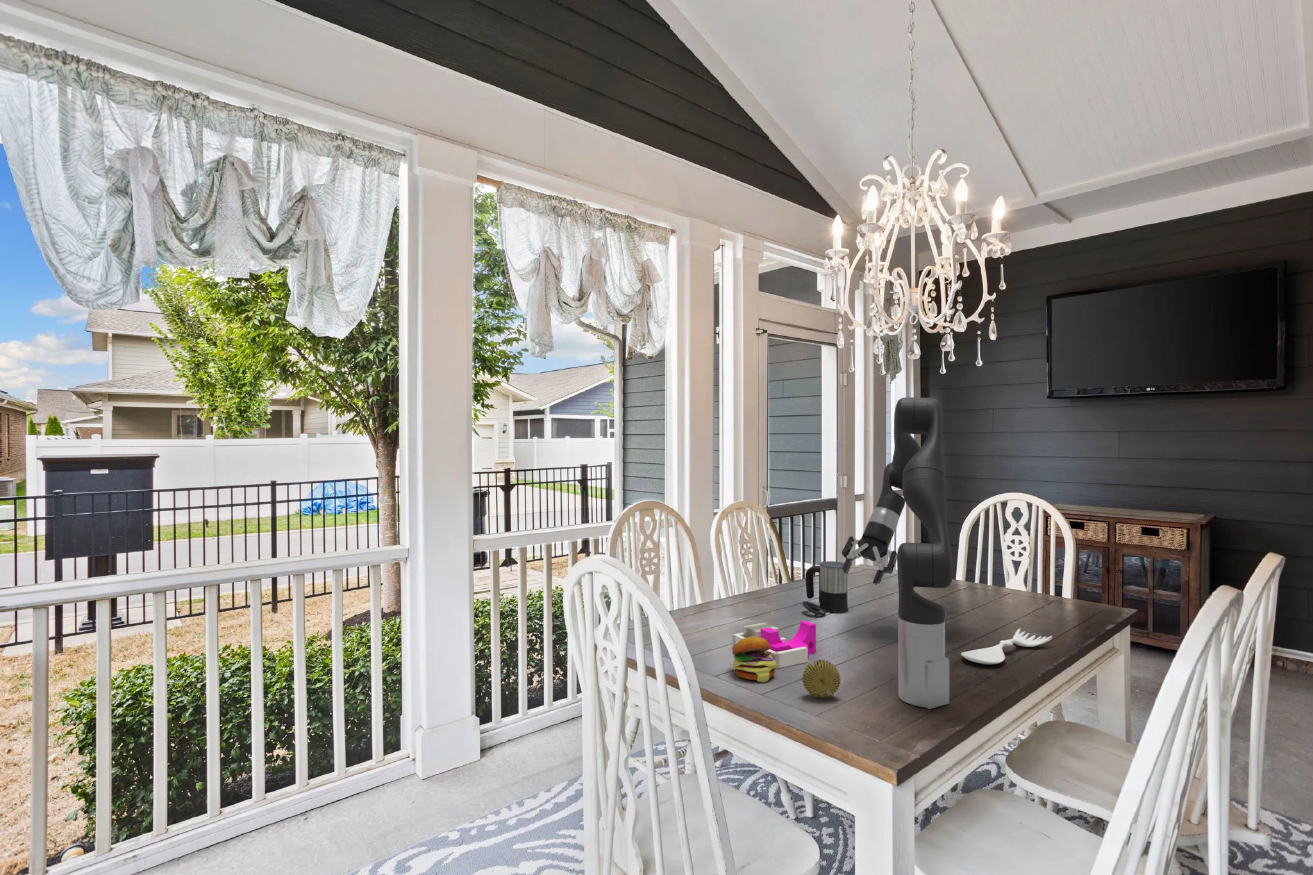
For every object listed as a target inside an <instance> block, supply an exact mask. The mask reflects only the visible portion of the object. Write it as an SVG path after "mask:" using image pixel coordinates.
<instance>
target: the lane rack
mask: <svg viewBox="0 0 1313 875" xmlns="http://www.w3.org/2000/svg"><path fill="white" fill-rule="evenodd" d="M743 638H745V637H744V632H738V633H733V634H732V647H733V646H734V645H735V644H736V643H738V642H739V641H740V640H741V639H743ZM780 639H781V641H782V642H787V638H786V637H780ZM766 652H771V654H770V655H769V656H771V657H772V658H773V659H774V660H775V662H776V664H777V666H776V669H775V670H777V669H781V668H786V667H790V666H791V667H792V666H795V665H800V664H805V663H808V662H809V658H808V648H807V647H800V648H795V649H790V650H785V651H780V652H775V651H773V650H770V649H769V650H767V651H765V652H764V653H766Z"/></svg>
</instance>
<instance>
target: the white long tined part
mask: <svg viewBox="0 0 1313 875" xmlns="http://www.w3.org/2000/svg"><path fill="white" fill-rule="evenodd" d="M1025 633H1026V630H1025V631H1022V629H1021V628H1018V629H1017V630H1016V631H1015V633H1014V634H1013V636H1012V638H1009V639H1005V640H1000V641H999V643H998V644H996V645H994V646H991V647H990V646H989V647H984V648H978V649H972V650H968V651H963V652H961V653H960V655H961V656H962V657H963V658H965V659H966V660H968V661H971V662H973V663H976V664H981V665H998V664H1000V663H1002V662H1004V661H1005V659H1006V655H1005V653H1004V651H1003V649H1004V647H1006V646H1008V647H1010V646H1013V644H1016V645H1017V646H1019V647H1023V648H1024V647H1025V648H1026V647H1027V648H1031V647H1038V646H1040V645H1042V644H1045V643H1048V642H1050V641H1052V639H1053V635H1050V636H1048V637H1047V636H1046V635H1045V636H1043V637H1042V635H1040V636H1038V637H1037V638H1036V635H1032V636H1030V633H1029V632H1028V633H1026V634H1025ZM1029 636H1030V637H1029Z"/></svg>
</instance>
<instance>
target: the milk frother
mask: <svg viewBox="0 0 1313 875" xmlns="http://www.w3.org/2000/svg"><path fill="white" fill-rule="evenodd" d="M844 563H845V562H841V561H834V560H832V561H831V560H830V561H829V560H828V561H826V560H825V561H821V562H819V563H818V564H819V565H813V566H810V567H809V568H808V569H807V570H806V572H805V589H806V590H805V591H806V598H807V599H809V600H810V599H813V598H814V597H815V585H814V584H815V582H814V574H815V573H818V577H819V578H818V603H819V605H817V604H816V603H813V602H810V601H803V602H802V606H803V607H804V608H805V610H807V611H809V612H810V613H812V614H814V615H815V617H816V616H825V615H826V613H837V614H838V613H839V614H840V613H846V612H848V611H849V608H848V606H849V605H848V604H849V603H848V582H849V581H848V577H849V575H848V574H849V573H848V574H846V573H844V570H843V565H844Z"/></svg>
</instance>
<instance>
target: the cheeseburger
mask: <svg viewBox="0 0 1313 875" xmlns="http://www.w3.org/2000/svg"><path fill="white" fill-rule="evenodd" d="M770 648H771V646H770V644H769V642H768V641H767V640H766V639H763V638H760V637H755V636H752V637H747V638H743V639H741V640H740V641H739V642H738V643H736V644H735V645H734V646H733V645H732V652H731V653H732V655H733V663H732V667H733V671H734V672H735V675H736V676H737V677H738V678H741V679H747V680H751V681H757V682H758V683H765V682H768V681H769V680H770V678H772V677H773V676H775V673H776V670H777V669H776V666H777V664H776V662H775V660H774V659H773V658H772V657H771V656H769V655H770V654H771V652H766V653H764V652H765V651H767V650H769V649H770Z"/></svg>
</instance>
